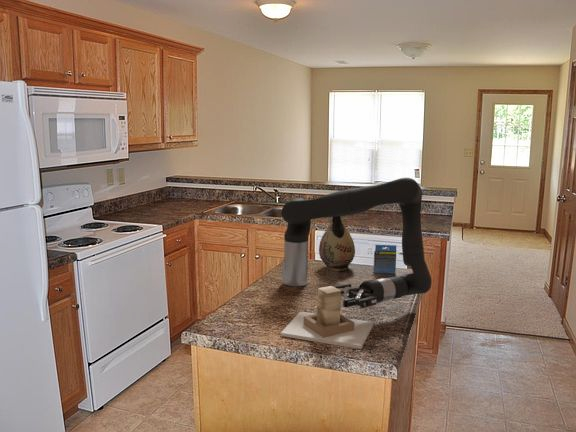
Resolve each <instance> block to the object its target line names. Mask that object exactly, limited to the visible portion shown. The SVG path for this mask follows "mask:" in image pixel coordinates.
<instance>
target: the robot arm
mask: <svg viewBox="0 0 576 432" xmlns="http://www.w3.org/2000/svg"><path fill="white" fill-rule="evenodd" d="M422 199H423V190H422V188H421V186H420V185H419V182H417V181H416V180H415V179H414V178H411V177H401V178H397V179H394V180H391V181H387V182H384V183H379V184H375V185H367V186H361V187H353V188H348V189H343V190H339V191H335V192H331V193H329V194H325V195H323V196H320V197H316V198H312V199H305V198H303V197H297V198H296V197H295V198H292V199H290V200H289V201H287V202H286V203H285V204H283V206H282V208H281V213H280V214H281V217H282V219H283V220H284V221H285V222H286V223H287V227H286V230H285V231H284V236H283V237H284V238H283V239H284V243H283V244H284V245H283V247H284V248H283V249H284V250H283V256H284V258H283V259H282V260H281V284H282V285H283V284H284V285H286V286H287V287H288V286H289V287H302V286H303V287H304V286H306V285H307V284H308V280H309V279H308V275H309V274H308V270H309V269H308V268H309V266H308V265H309V264H308V263H309V235H310V232H311V222H312V221H313V220H315V219H321V218H322V219H323V218H333V217H337V216H341V217H343V216H345V217H346V216H352V215H357V214H360V213H364V212H367V211H368V210H371V209H373V208H375V207H378V206H383V205H388V204H389V205H390V204H399V206H400V212H401V216H402V235H401V249H402V261H403V264H404V265H405V266H407V267H410V269H411V270H412V273H407V274H403V275H399V276H392V277H381V278H376V279H369V280H364V281H363V282H362V283H360V284H359V286H353V287H352V284H350V283H349V284H343V285H336V286H334V287H335V288H337V289H339V290H341V298H344V300H343V303H342V306H343V308H350V307H359V308H361V309H365V308H368V307H373V306H376V305H377V304H382V303H386V302H388V301H392V300H396V299H401V298H403V297H405V296H413V295H421V294H426V293H428V292H429V291H430V290H431V287H432V276H431V273H430V271H429V268H428V265H427V262H426V260H425V251H424V250H425V249H424V241H423V233H422V219H421V218H422V217H421V216H422ZM311 220H312V221H311ZM347 294H348V295H347Z"/></svg>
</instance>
